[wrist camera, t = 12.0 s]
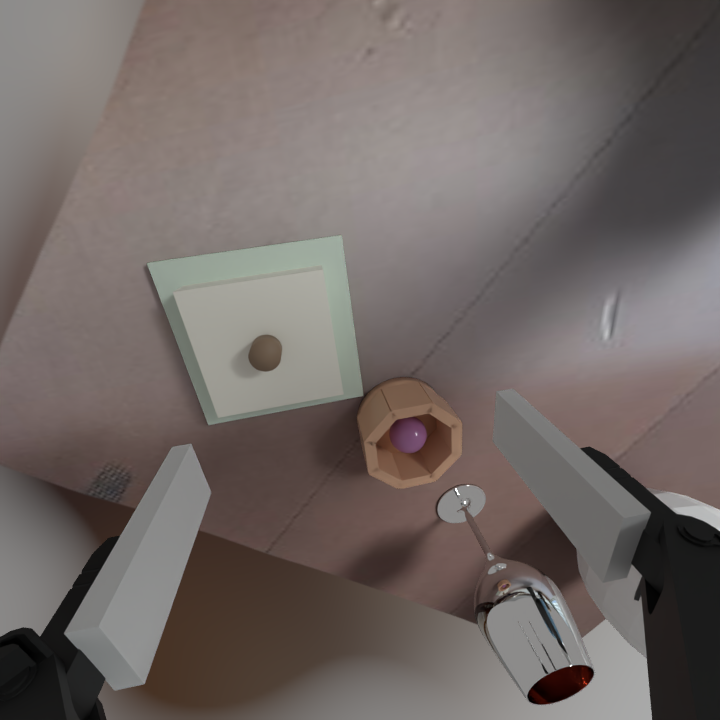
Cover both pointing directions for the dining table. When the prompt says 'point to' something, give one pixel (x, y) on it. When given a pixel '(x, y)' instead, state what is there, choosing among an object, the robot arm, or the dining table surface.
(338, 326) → the mat
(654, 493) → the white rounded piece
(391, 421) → the pot
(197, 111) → the dining table surface
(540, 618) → the wineglass
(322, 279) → the lid
